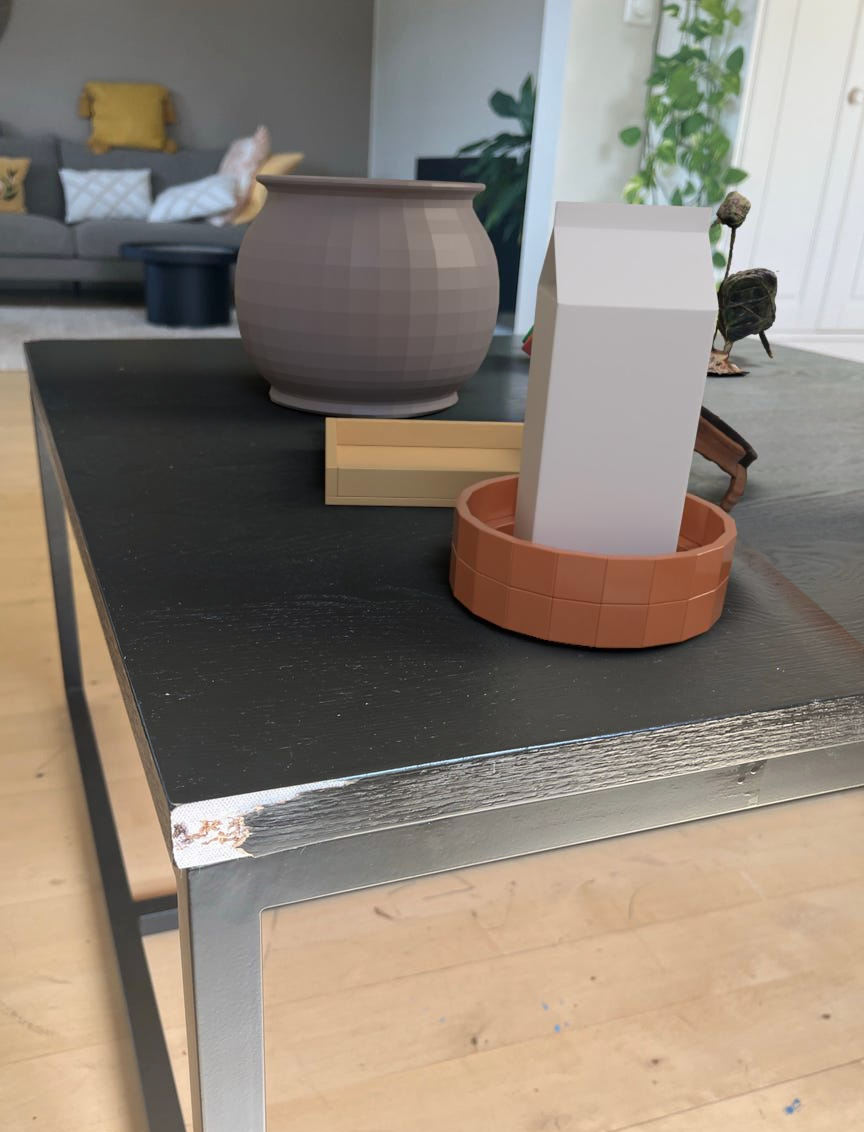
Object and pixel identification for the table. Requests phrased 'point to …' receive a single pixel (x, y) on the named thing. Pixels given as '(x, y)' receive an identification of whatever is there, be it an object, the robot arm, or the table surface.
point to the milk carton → (616, 377)
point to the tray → (415, 459)
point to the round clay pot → (366, 294)
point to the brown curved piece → (724, 453)
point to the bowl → (588, 576)
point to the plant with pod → (741, 295)
